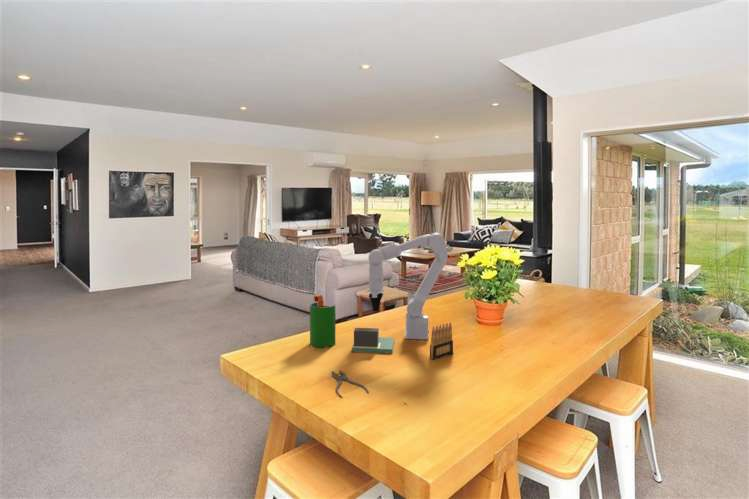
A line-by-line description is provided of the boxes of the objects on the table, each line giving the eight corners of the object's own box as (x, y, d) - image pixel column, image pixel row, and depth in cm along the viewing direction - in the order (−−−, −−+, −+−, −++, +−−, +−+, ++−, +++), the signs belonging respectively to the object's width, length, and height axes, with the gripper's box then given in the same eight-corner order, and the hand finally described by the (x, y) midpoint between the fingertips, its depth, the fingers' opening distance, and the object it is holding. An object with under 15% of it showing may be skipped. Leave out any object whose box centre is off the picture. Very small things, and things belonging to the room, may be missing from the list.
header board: (394, 341, 184) (394, 330, 183) (392, 353, 170) (392, 341, 169) (356, 340, 185) (356, 329, 185) (351, 351, 171) (351, 340, 171)
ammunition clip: (433, 360, 163) (433, 327, 162) (429, 358, 165) (429, 326, 163) (453, 353, 170) (453, 322, 168) (449, 352, 171) (450, 320, 170)
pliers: (343, 398, 132) (313, 375, 148) (343, 401, 132) (313, 378, 148) (372, 390, 137) (339, 369, 153) (372, 393, 137) (339, 371, 154)
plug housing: (378, 343, 176) (378, 328, 175) (377, 347, 172) (377, 331, 171) (355, 342, 177) (355, 327, 176) (353, 346, 173) (353, 330, 172)
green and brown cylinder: (338, 341, 183) (338, 292, 181) (329, 349, 175) (328, 297, 172) (315, 339, 186) (315, 291, 184) (305, 346, 178) (304, 295, 175)
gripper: (368, 275, 196) (368, 306, 198) (364, 281, 182) (364, 315, 183) (384, 275, 195) (384, 306, 197) (382, 282, 181) (382, 315, 183)
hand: (376, 311), depth 190 cm, fingers closed
